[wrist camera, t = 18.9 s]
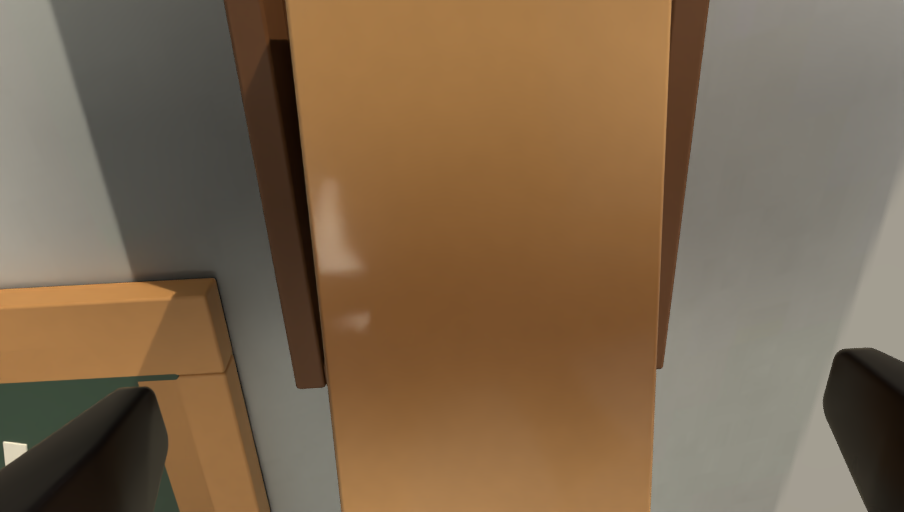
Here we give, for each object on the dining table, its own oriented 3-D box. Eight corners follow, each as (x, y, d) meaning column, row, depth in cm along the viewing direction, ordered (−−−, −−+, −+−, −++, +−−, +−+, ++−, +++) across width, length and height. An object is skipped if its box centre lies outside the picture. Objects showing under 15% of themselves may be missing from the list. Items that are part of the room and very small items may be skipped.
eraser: (326, -50, 12) (274, -95, 8) (597, -63, 12) (677, -114, 8) (370, 431, 14) (348, 574, 10) (591, 418, 14) (649, 556, 10)
